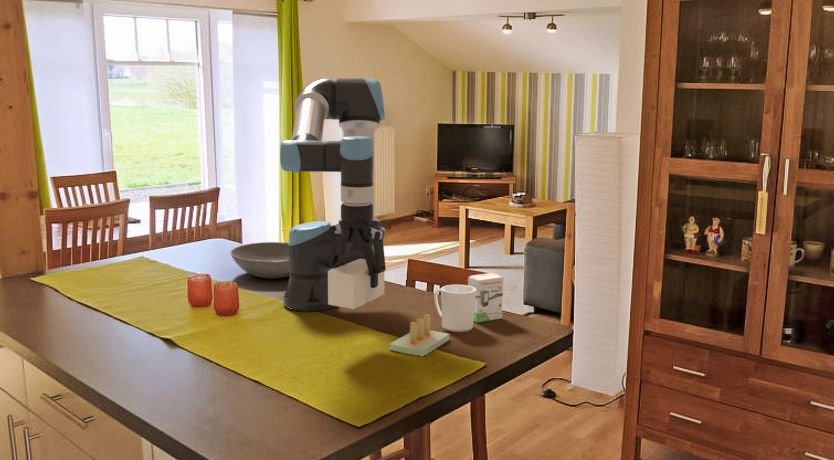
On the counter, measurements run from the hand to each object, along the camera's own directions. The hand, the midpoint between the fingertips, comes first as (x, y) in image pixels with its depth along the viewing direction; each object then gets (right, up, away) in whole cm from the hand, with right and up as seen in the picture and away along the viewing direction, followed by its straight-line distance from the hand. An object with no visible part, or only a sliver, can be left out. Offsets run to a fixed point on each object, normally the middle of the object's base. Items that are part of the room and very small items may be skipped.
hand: (356, 297), depth 188 cm
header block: (+15, -12, +3) cm, 19 cm away
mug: (+24, -9, +17) cm, 31 cm away
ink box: (+33, -8, +25) cm, 42 cm away
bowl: (-32, +1, +68) cm, 76 cm away
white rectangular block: (0, 0, 0) cm, 0 cm away
